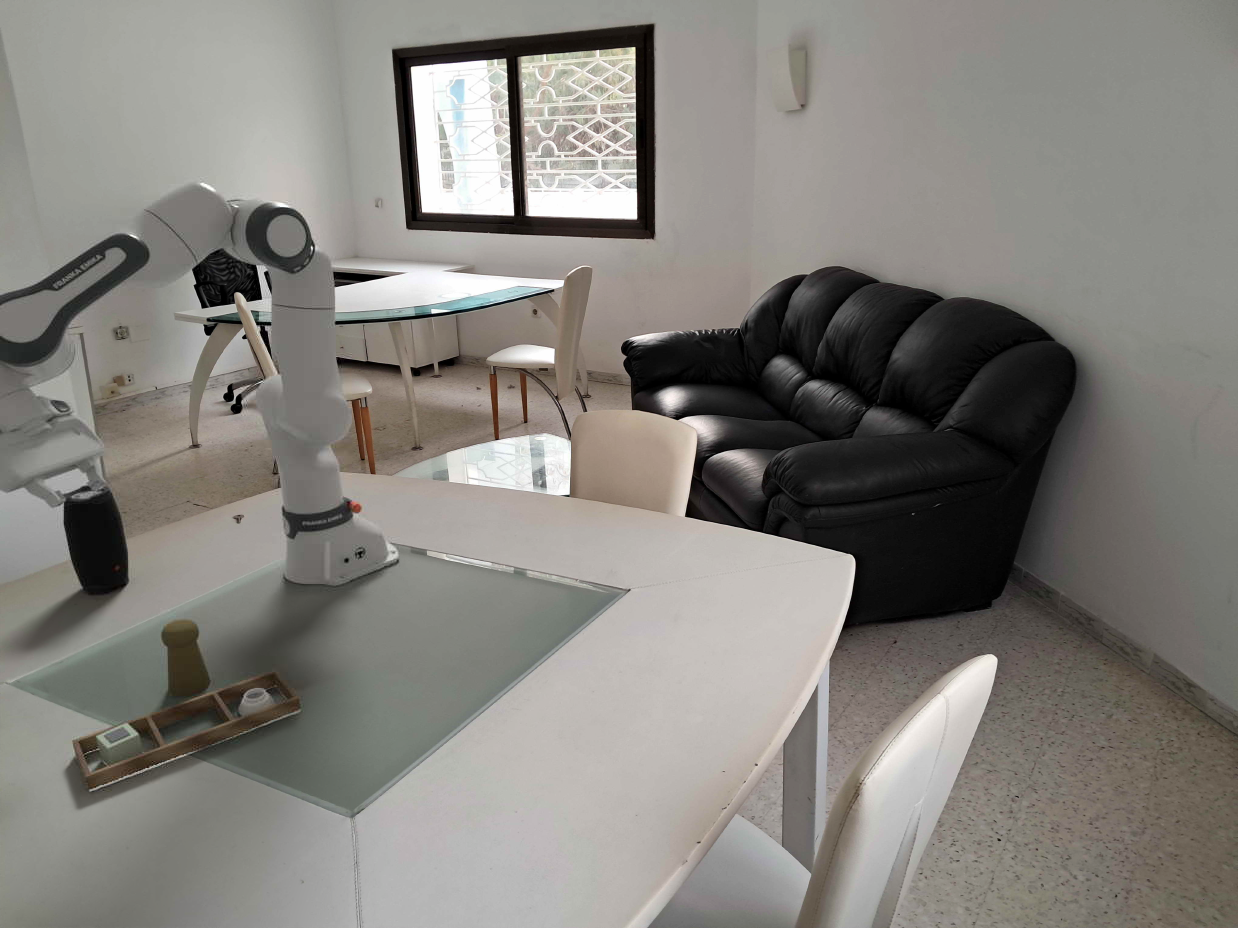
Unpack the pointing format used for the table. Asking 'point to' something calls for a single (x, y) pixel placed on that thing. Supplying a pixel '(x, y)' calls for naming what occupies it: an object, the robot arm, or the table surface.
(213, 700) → the organiser
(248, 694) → the lidless jar
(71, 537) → the portable speaker
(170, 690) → the cork
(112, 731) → the cube with grey panel
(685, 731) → the table surface
